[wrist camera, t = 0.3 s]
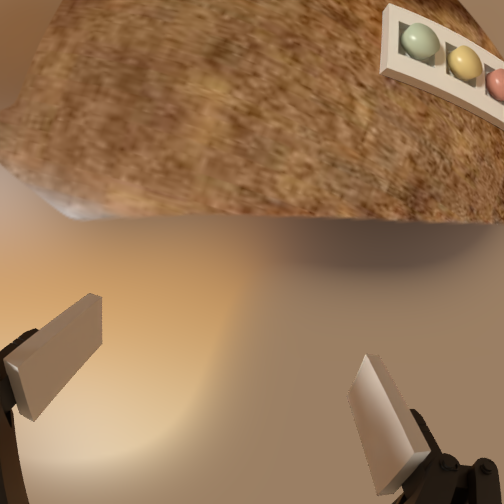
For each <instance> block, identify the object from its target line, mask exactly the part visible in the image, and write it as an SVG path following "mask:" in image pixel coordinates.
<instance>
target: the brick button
mask: <svg viewBox="0 0 504 504" xmlns="http://www.w3.org/2000/svg"><path fill="white" fill-rule="evenodd" d="M485 81H486V86H487V89H488V91H489V93H490V94H491V96H492V97H493V98H494V99H496V100H497V101H504V69H502V68H500V69H497V70H495V71H492V72H489V73H488V74H487V75H486V78H485Z"/></svg>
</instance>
